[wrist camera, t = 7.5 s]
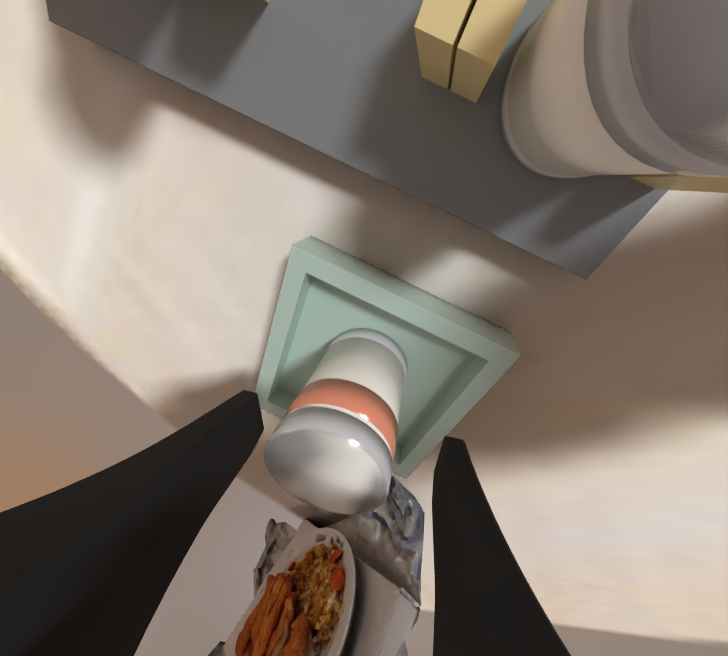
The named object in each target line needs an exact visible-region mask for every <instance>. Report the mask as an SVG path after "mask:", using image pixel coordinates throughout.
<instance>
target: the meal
mask: <svg viewBox="0 0 728 656" xmlns="http://www.w3.org/2000/svg"><path fill="white" fill-rule="evenodd" d="M423 535H424V512H423V510H422V508H421V506H420V504H419V503H418V501H417V500H416V498H415V497H414V496H413V495H412V494H411V493H410V492H409V491H408V490H407V489H406V488H405V487H403V486H402V485H401V484H400V483H399V482H398V481H397V480H396V479H395V478H394V476H393V477H392V479H391V483H390V486H389V493H388V496H387V498H386V500H385V502H384V503H383V504H382V505H381V506H380V507H378V508H377V509H375V510H373V511H370V512H367V513H363V514H359V515H357V516H355V517H353V518H351V519H347V520H342V521H339V522H337V523H335V524H333V525H331V526H327V527H322V528H317V527H316V526H315V525H314V524H313V523H312V522H310V521H309V520H307V519H305V520H304V521H303V522H302V523H301V525H300V527H299V528H298V530H297V531H296V530H295V529H294V528H293V527H291V526H290V525H288V524H287V523H285V522H282V523H278V524H277V523H276V522H275V520H274V519H270V521H269V522H268V525H267V528H266V533H265V539H266V547H265V549H264V551H263V553H262V555H261V558H260V560H259V562H258V564H257V566H256V568H255V569H254V599H253V600H252V602H251V603H250V605H249V607H248V608H247V610H246V611H245V613H244V614H243V615H242V617H241V619H240V620H239V621H238V623H237V625H236V626H235V628H234V630H233V632H232V633H231V634H230V636H229V637H228V640H227V641H226V642H221V641H220V642H219V643H218V645H217V646H216V647H215V648H214V649H213V650H212V651H211V653H210V654H209V655H208V656H408V653H407V648H406V644H405V640H404V639H405V637H406V636H407V635H408V634H409V632H410V631H411V629H412V628H413V626H414V624H415V623H416V621H417V619H418V616H419V612H420V608H419V606H421V563H422V550H423Z"/></svg>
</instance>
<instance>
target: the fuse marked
mask: <svg viewBox="0 0 728 656" xmlns="http://www.w3.org/2000/svg"><path fill="white" fill-rule="evenodd" d="M407 368H408V367H407V359H406V356H405V354H404V352H403V350H402V349H401V347H400V346H399V345H398V344H397V343H396V342H395V341H394V340H393V339H392V338H391V337H389V336H388V335H386V334H384V333H382V332H380V331H377V330H374V329H370V328H353V329H349V330H346V331H344V332H342V333H340V334H339V335H337V336H336V337H335V338H334V339H333V341H332V342H331V344H330V345H329V347H328V348H327V350H326V351H325V353H324V356H323V358H322V360H321V361H320V363H319V364H318V366H317V368H316V369H315V371H314V372H313V374H312V375H311V377H310V379H309V380H308V382H307V383H306V385H305V386H304V388H303V389H302V390H301V391H300V392H299V393H298V395H297V396H296V398H295V400H294V401H293V403H292V404H291V406H290V407H289V409H288V410H287V412H286V414H285V415H284V417H283V418H282V420H281V421H280V423H279V424H278V426H277V428H276V429H275V431H274V432H273V434H272V435H271V437H270V438H269V440H268V441H267V443H266V445H265V448H264V460H265V464H266V466H267V468H268V470H269V472H270V474H271V475H272V477H273V478H274V479H275V480H276V481H277V483H278V484H279V485H280V486H281V487H283V488H284V489H285V490H286V491H287V492H289V493H290V494H291V495H293V496H294V497H296V498H297V499H299V500H301V501H302V502H305V503H307V504H309V505H311V506H313V507H316V508H318V509H321V510H325V511H328V512H333V513H338V514H350V515H353V514H363V513H367V512H370V511H373V510H375V509H377V508H378V507H380V506H381V505H382V504H383V503H384V502H385V500H386V498H387V496H388V493H389V486H390V480H391V473H392V466H393V460H394V454H395V447H396V441H397V434H398V419H399V413H400V407H401V401H402V394H403V389H404V386H405V382H406V376H407Z"/></svg>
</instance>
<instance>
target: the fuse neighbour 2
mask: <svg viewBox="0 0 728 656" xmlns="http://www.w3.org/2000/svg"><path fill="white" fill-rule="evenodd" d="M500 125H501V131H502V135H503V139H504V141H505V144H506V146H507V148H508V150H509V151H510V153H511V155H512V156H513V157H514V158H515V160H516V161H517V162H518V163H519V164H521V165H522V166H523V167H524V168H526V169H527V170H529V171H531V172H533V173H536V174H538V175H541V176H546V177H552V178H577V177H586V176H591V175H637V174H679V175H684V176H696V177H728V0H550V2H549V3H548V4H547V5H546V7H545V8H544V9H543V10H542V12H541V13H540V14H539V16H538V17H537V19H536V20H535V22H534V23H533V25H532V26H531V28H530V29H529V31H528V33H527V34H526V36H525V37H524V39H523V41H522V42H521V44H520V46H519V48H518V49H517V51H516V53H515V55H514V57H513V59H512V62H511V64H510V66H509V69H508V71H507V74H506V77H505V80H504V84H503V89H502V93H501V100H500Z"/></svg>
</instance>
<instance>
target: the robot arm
mask: <svg viewBox="0 0 728 656" xmlns="http://www.w3.org/2000/svg"><path fill="white" fill-rule="evenodd" d="M263 430H264V426H263V421H262V415H261V410H260V404H259V399H258V393H254V392H249V391H245V390H243V391H242V392H240V393H238V394H237V395H235V396H233V397H232V398H230V399H229V400H227V401H225V402H224V403H222V404H221V405H219V406H217V407H216V408H214V409H213V410H211V411H210V412H208V413H206V414H205V415H203V416H201V417H200V418H198V419H197V420H195V421H193V422H192V423H190V424H189V425H187V426H185V427H184V428H182V429H180V430H178V431H177V432H175V433H173V434H171V435H170V436H168V437H166V438H164V439H163V440H161V441H159V442H158V443H156V444H154V445H152V446H150V447H148V448H147V449H145V450H143V451H141V452H139V453H137V454H135V455H133V456H131V457H129V458H127V459H125V460H123V461H121V462H119V463H117V464H115V465H113V466H111V467H109V468H107V469H105V470H103V471H101V472H98V473H96V474H94V475H92V476H89V477H87V478H85V479H82V480H80V481H78V482H76V483H73V484H71V485H69V486H67V487H65V488H62V489H59V490H57V491H55V492H52V493H50V494H47V495H45V496H42V497H40V498H37V499H35V500H32V501H30V502H27V503H24V504H22V505H19V506H17V507H14V508H11V509H9V510H6V511H3V512H1V513H0V656H134V654H135V652H136V650H137V648H138V646H139V644H140V642H141V640H142V638H143V636H144V633H145V631H146V629H147V627H148V625H149V623H150V621H151V619H152V617H153V615H154V614H155V612H156V610H157V608H158V606H159V604H160V602H161V600H162V598H163V596H164V594H165V592H166V590H167V588H168V586H169V585H170V583H171V581H172V579H173V577H174V575H175V574H176V572H177V570H178V568H179V566H180V564H181V563H182V561H183V559H184V557H185V555H186V554H187V552H188V550H189V548H190V547H191V545H192V543H193V541H194V540H195V538H196V536H197V534H198V533H199V531H200V529H201V527H202V526H203V524H204V523H205V521H206V519H207V518H208V516H209V515H210V513H211V512H212V510H213V509H214V507H215V506H216V504H217V503H218V501H219V500H220V499H221V497H222V496H223V494H224V493H225V491H226V490H227V488H228V487H229V485H230V484H231V483H232V481H233V480H234V478H235V477H236V475H237V474H238V472H239V471H240V470H241V468H242V467H243V465H244V464H245V462H246V461H247V459H248V458H249V456H250V455H251V453H252V451H253V449H254V448H255V446H256V444H257V442H258V440H259V438H260V436H261V434H262V432H263ZM432 517H433V544H434V571H435V616H434V644H433V656H571V655H570V653H569V652H568V650H567V648H566V647H565V645H564V644H563V642H562V640H561V639H560V638H559V636H558V634H557V632H556V631H555V629H554V627H553V626H552V624H551V622H550V620H549V619H548V617H547V615H546V614H545V612H544V610H543V608H542V607H541V605H540V603H539V602H538V600H537V598H536V596H535V594H534V593H533V591H532V589H531V587H530V585H529V584H528V582H527V580H526V578H525V576H524V575H523V573H522V571H521V569H520V567H519V565H518V563H517V561H516V559H515V558H514V556H513V554H512V552H511V550H510V548H509V546H508V544H507V542H506V540H505V538H504V536H503V534H502V532H501V529H500V527H499V525H498V523H497V521H496V519H495V517H494V514H493V512H492V510H491V508H490V505H489V503H488V501H487V499H486V496H485V494H484V492H483V489H482V487H481V485H480V482H479V480H478V477H477V475H476V472H475V469H474V467H473V464H472V461H471V459H470V456H469V453H468V450H467V447H466V443H465V442H464V441H463V440H461V439H457V438H452V437H448V436H444V440H443V443H442V447H441V450H440V453H439V457H438V460H437V463H436V467H435V470H434V479H433V495H432Z"/></svg>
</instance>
